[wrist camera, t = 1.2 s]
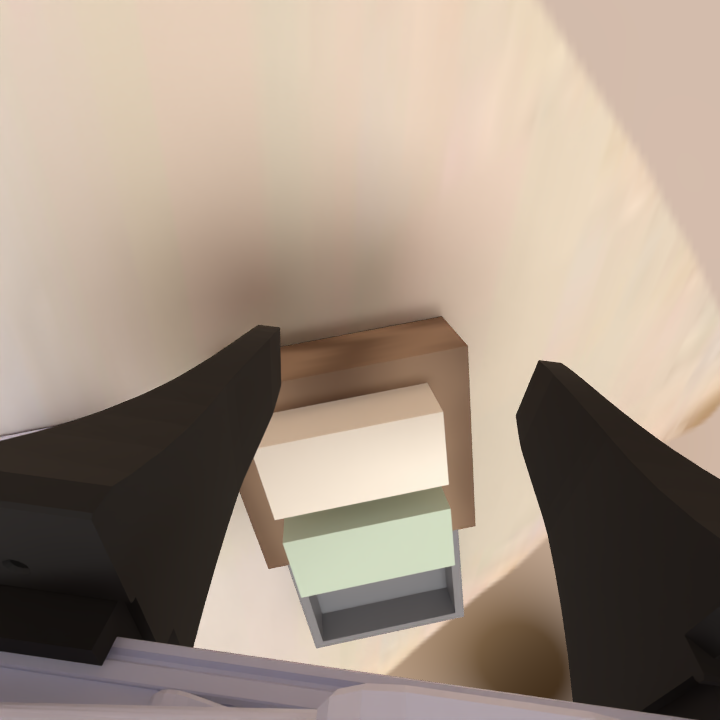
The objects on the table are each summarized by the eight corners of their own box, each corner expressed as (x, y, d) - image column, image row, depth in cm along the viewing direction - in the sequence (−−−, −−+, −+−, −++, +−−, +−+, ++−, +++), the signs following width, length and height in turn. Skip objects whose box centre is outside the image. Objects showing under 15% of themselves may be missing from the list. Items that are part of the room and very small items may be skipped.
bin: (315, 613, 32) (316, 648, 29) (283, 516, 27) (281, 548, 25) (453, 584, 32) (464, 616, 30) (444, 483, 27) (456, 512, 25)
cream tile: (278, 481, 21) (274, 520, 18) (257, 415, 19) (250, 449, 17) (433, 450, 21) (448, 484, 19) (427, 382, 19) (443, 411, 17)
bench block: (273, 514, 27) (268, 568, 23) (220, 358, 22) (203, 396, 18) (453, 478, 27) (475, 525, 24) (441, 316, 22) (467, 345, 19)
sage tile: (301, 555, 23) (301, 597, 21) (285, 503, 21) (282, 543, 19) (440, 526, 23) (455, 565, 21) (435, 472, 22) (450, 508, 19)
